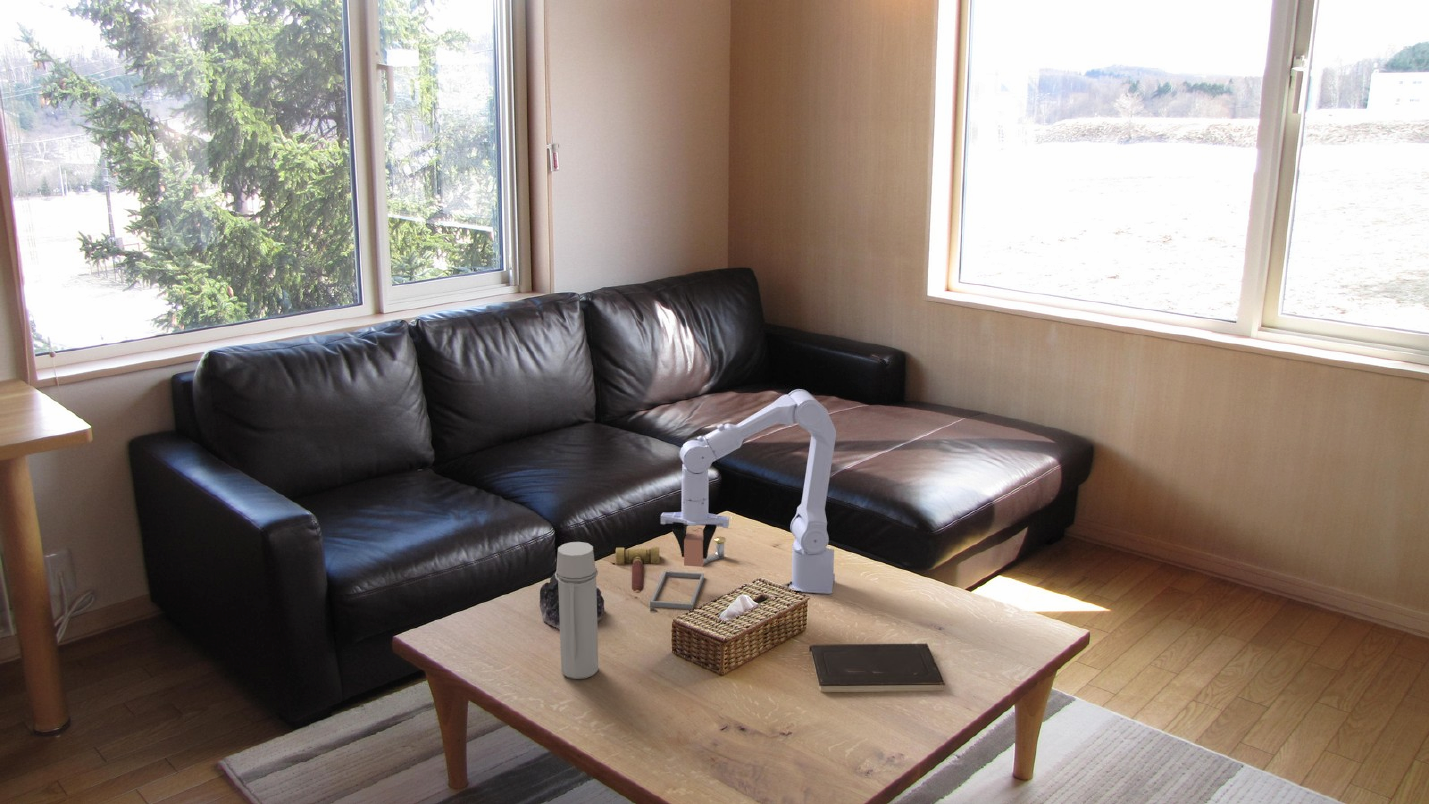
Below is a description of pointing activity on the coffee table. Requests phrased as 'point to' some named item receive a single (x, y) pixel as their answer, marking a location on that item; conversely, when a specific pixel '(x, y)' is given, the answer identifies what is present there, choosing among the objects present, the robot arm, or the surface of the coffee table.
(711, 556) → the crank
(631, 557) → the gavel
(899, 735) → the coffee table surface
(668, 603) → the rectangular frame
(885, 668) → the hardcover book
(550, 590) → the crystal cluster
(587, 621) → the water bottle
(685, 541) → the block
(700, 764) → the coffee table surface
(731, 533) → the coffee table surface
